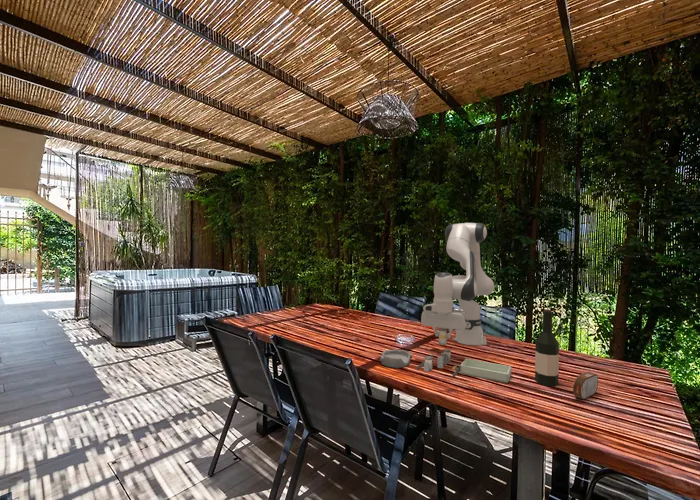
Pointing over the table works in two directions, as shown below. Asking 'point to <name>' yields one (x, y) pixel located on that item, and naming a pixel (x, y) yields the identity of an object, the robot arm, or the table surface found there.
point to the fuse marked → (442, 336)
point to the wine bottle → (547, 354)
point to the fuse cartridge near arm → (447, 353)
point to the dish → (395, 358)
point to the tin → (585, 385)
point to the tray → (486, 370)
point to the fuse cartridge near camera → (429, 361)
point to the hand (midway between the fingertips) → (442, 337)
